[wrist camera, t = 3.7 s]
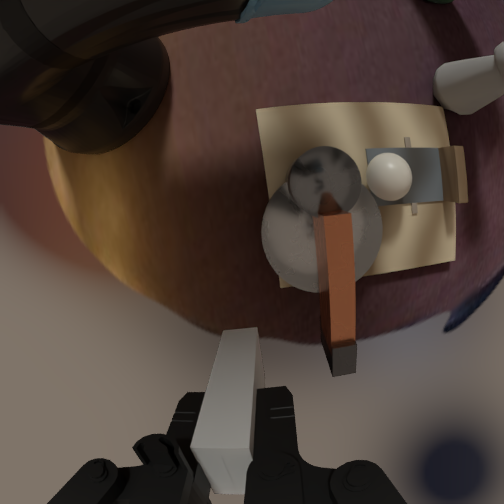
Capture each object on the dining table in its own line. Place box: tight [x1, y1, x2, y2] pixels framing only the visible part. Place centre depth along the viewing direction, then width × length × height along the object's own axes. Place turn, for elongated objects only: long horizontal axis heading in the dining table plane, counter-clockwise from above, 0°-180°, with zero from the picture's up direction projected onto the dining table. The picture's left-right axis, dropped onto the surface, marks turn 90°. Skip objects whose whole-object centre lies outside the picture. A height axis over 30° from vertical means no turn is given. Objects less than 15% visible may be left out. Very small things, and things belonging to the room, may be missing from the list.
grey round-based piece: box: [261, 146, 383, 377], centre depth 21 cm, size 10×16×7 cm, turn 8°
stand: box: [256, 102, 468, 288], centre depth 23 cm, size 19×16×4 cm
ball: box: [366, 153, 412, 201], centre depth 21 cm, size 4×4×4 cm
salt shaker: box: [433, 42, 504, 115], centre depth 15 cm, size 6×6×13 cm
